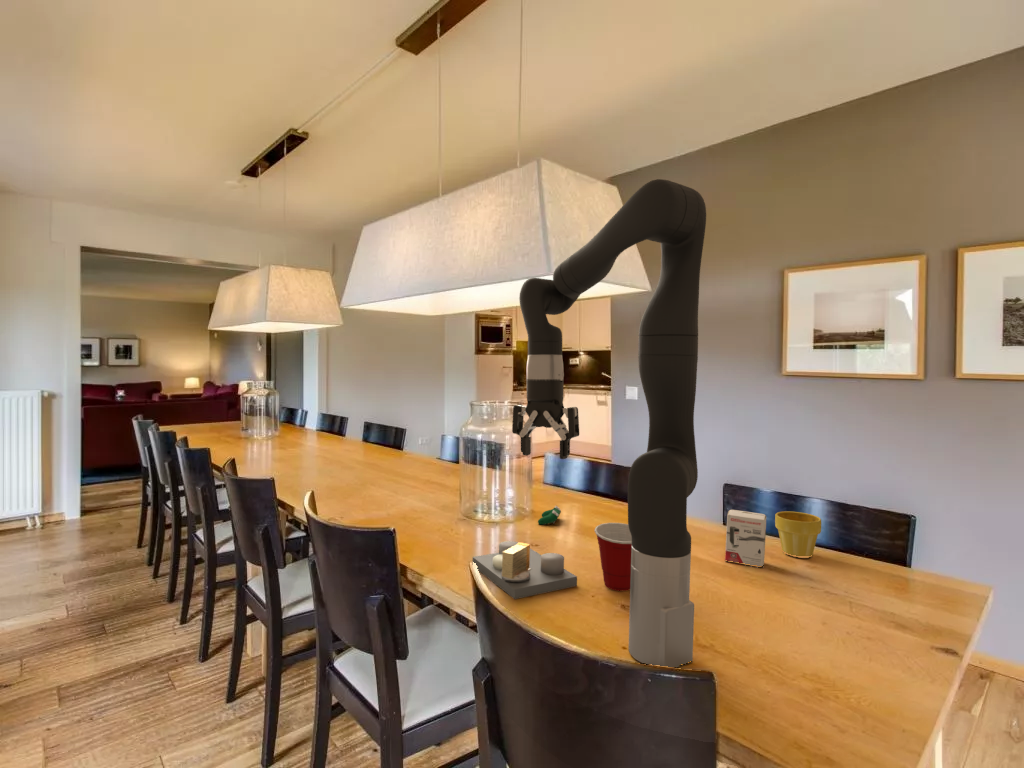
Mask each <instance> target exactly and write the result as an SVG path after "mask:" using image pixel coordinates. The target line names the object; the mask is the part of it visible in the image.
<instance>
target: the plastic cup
mask: <svg viewBox="0 0 1024 768" xmlns="http://www.w3.org/2000/svg"><path fill="white" fill-rule="evenodd" d="M594 533H595V535H596V539H597V544H598V548H599V550H598V551H599V557H600V564H601V570H602V577H603V582H604V586H605V587H606V588H608V589H610V590H613V591H616V592H617V591H618V592H626V591H630V581H631V550H632V536H631V533H630V530H629V526H628V523H622V522H605V523H600V524H598V525H597V526H595V528H594Z"/></svg>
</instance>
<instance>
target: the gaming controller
mask: <svg viewBox="0 0 1024 768" xmlns="http://www.w3.org/2000/svg"><path fill="white" fill-rule="evenodd" d="M561 510H562V509H561V508H560V507H559V506H557V505H555V506H554V507H553V508H552V509H549V510H545V511H543V512H542V513H541V517H540V518H539V519H538V520H537V524H538V525H539V526H540V525H541V526H544V525H548V524H552V523H553V524H555V522H556V521H557V520H558V518H559V517H560V514H561V513H562V511H561Z"/></svg>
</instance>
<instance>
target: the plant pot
mask: <svg viewBox="0 0 1024 768" xmlns="http://www.w3.org/2000/svg"><path fill="white" fill-rule="evenodd" d="M774 517H775V519H774V525H775V528H776V529H777V532H778V536H779V541H780V545H781V546H780V547H781V551H782V550H783V551H784V552H786V553H788V554H791V555H796V556H811V555H812V556H813V555H814V551H815V547H816V544H817V540H818V535H820V534H821V533H822V519H821V517H819V516H817V515H814V514H810V513H806V512H800V511H792V510H791V511H787V510H785V511H778V512H776V513H775V515H774Z"/></svg>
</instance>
